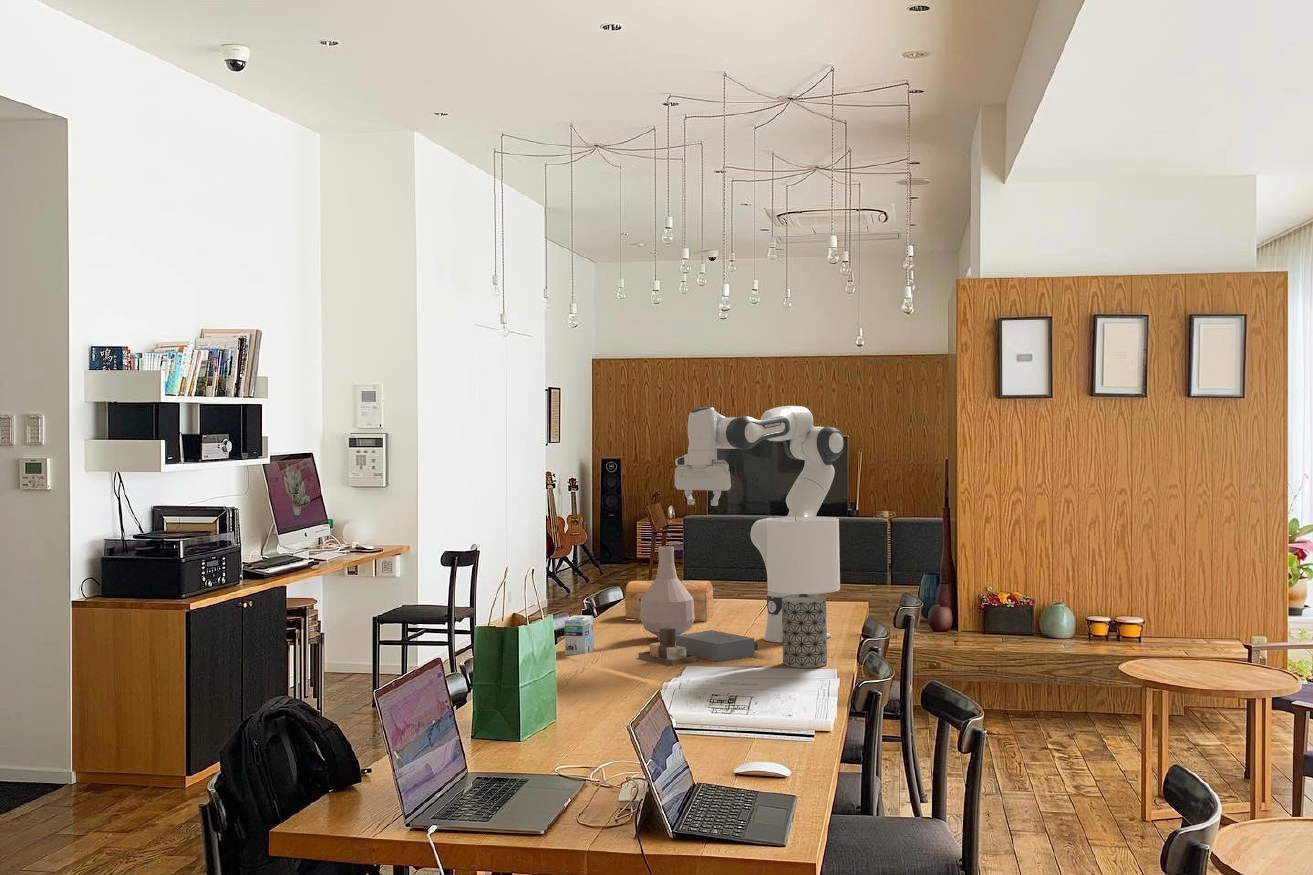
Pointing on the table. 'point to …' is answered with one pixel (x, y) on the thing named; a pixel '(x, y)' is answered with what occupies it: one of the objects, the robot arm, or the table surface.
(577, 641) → the light bulb box
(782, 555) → the lamp
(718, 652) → the loading dock
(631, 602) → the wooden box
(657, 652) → the terracotta block
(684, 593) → the vase
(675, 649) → the cream block
